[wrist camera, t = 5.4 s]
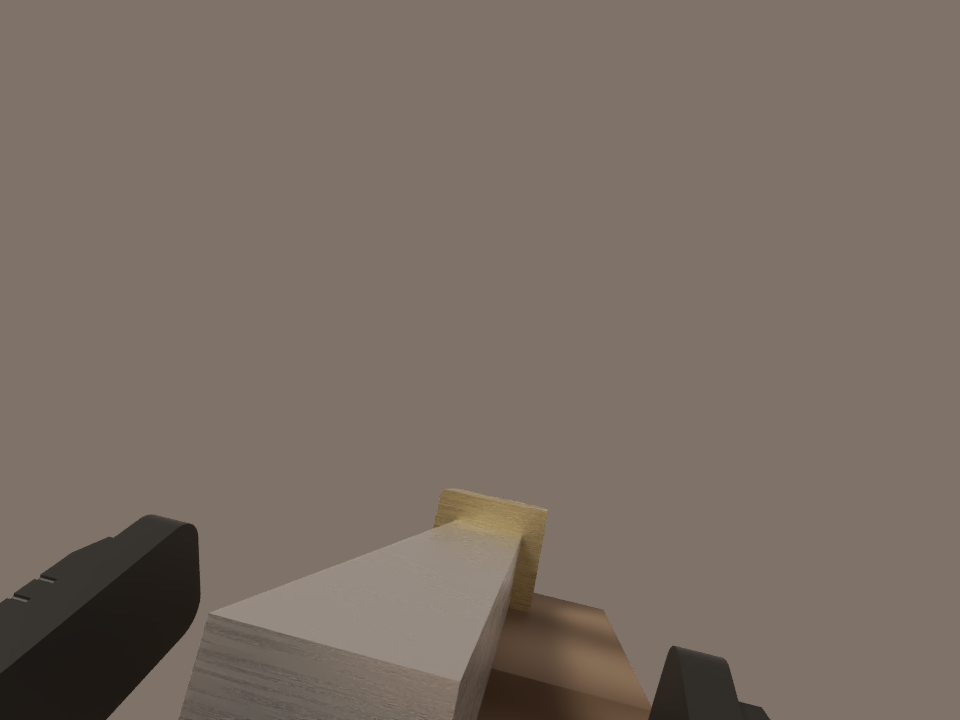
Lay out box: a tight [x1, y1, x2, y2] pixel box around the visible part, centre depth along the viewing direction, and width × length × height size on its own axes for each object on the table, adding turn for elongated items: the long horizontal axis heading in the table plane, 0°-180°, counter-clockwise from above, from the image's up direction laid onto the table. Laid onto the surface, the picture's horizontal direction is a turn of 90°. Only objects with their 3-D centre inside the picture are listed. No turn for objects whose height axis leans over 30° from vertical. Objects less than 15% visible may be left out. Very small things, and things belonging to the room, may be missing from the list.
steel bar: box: [178, 489, 548, 720], centre depth 15 cm, size 20×4×4 cm, turn 173°
